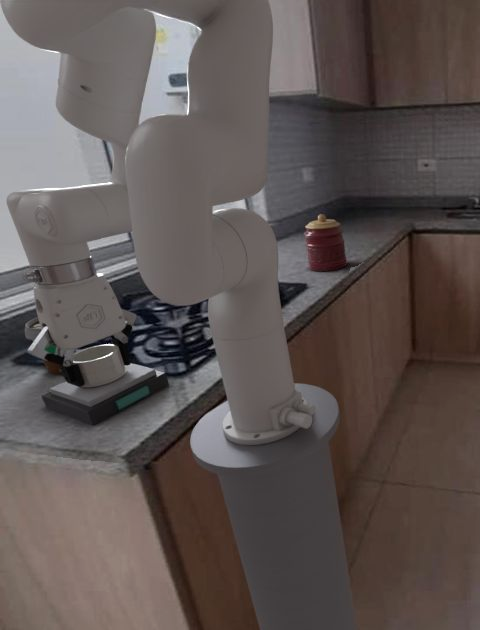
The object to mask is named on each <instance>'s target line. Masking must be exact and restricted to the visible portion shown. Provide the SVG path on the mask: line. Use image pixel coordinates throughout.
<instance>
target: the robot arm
mask: <svg viewBox="0 0 480 630" xmlns="http://www.w3.org/2000/svg"><path fill="white" fill-rule="evenodd" d="M0 7H1V10H2V11H1V12H2V13H3V15H4V17H5V19H6V22H7V24H8V26H9V27H10V28H11V29H12V31H13V32H14V33H15V35H17V36H18V37H19V39H21V40H22V41H24V42H25V43H26V44H27V45H30V46H32V47H34V48H37V49H38V50H42V51H46V52H53V53H58V54H60V57H59V58H60V59H59V69H58V70H59V71H58V79H57V88H56V94H55V107H56V111H57V112H58V113H59V115H60V116H61V117H62V119H64V121H65V122H66V123H68V124H70V125H71V126H72V127H75V128H76V129H78V130H79V131H82V132H84V133H86V134H88V135H90V136H92V137H94V138H97V139H99V140H102V141H104V142H107V143H108V144H109V146H110V147H111V151H112V158H113V160H112V168H111V169H112V170H111V173H110V174H111V175H110V179H109V181H108V182H106V183H105V182H103V183H96V184H87V185H85V184H84V185H77V186H72V187H70V186H69V187H63V188H62V187H61V188H59V187H46V188H45V187H44V188H43V187H42V188H33V189H32V188H31V189H22V190H16V191H13V192H10V193H9V194H8V195H7V197H6V200H5V201H6V206H7V209H8V212H9V214H10V217H11V219H12V221H13V225H14V227H15V230H16V232H17V235H18V237H19V240H20V243H21V245H22V248H23V250H24V253H25V256H26V258H27V261H28V263H29V266H28V268H29V271H28V272H26V273H22V275H21V277H22V280H23V281H24V283H26V284H28V283H34V284H36V286H34V287H33V298H34V305H35V311H36V314H37V317H38V319H39V322H40V326H41V329H42V330H41V332H40V333H39V335H38V336H37V337H36V339H35V340H34V342H33V341H32V343H31V344H30V346H28V348H27V351H26V353H27V354H28V355H30V356H32V357H36V358H38V359H41V360H42V359H43V360H46V361H49V362H53V363H56V364H59V365H60V368H61V370H62V373H63V375H62V376H63V378H64V380H65V382H67V383H69V384H72V385H75V386H78V387H82V386H84V384H85V383H84V380H83V377H82V375H81V372H80V369H79V366H78V364H76V363H73V357H74V351H75V350H78V349H79V348H82V347H84V346H87V345H88V346H89V345H90V344H93V343H95V342H98V341H101V340H104V339H105V338H109V339H111V342H110V344H113V345H117V346H118V347H119V350H120V353H121V356H122V359H123V362H124V365H125V366H128V365H130V364H131V363H132V362H131V360H130V358H131V355H130V351H129V347H128V345H127V343H128V342H129V336H130V335H131V332H132V330H133V326H134V324H135V322H136V320H137V318H138V317H137V316H138V315H137V313H134V312H132V311H129V310H126V309H123V308H122V307H121V305H120V303H119V300H118V298H117V295H116V294H115V292H114V290H113V288H112V286H111V284H110V283H109V280H108V279H107V278H106V276H105V274H104V273H102V272H101V273H100V272H97V269H96V265H95V263H94V260H93V257H92V253H91V251H90V248H89V244H88V243H89V242H94V241H98V240H101V239H105V238H110V237H114V236H118V235H124V234H127V233H132V242H133V249H134V255H135V261H136V265H137V269H138V273H139V274H140V276H141V279H142V281H143V283H144V285H145V286H146V287H147V289H148V290H149V291H150V292H151V294H152V295H154V296H155V297H156V298H157V299H158V300H160V301H162V302H164V303H165V304H168V305H171V306H176V307H177V306H178V307H186V306H187V307H188V306H192V305H196V304H200V303H201V302H204V301H207V300H208V301H207V319H208V323H209V330H210V334H211V338H212V343H213V347H214V352H215V354H216V359H217V362H218V363H217V364H218V367H219V371H220V376H221V379H222V383H223V387H224V392H225V396H226V400H228V404H229V408H230V411H229V412H228V413H227V415H226V416H225V417H224V420H223V422H222V429H223V433H224V435H225V437H226V438H227V439H229V440H230V441H232V442H234V443H237V444H242V445H260V444H266V443H270V442H274V441H277V440H280V439H282V438H285V437H286V436H288V435H290V434H292V433H294V432H295V431H296V430H298V429H299V428H300V427H302V428H309V427H310V425H311V424H312V416H311V415H313V414H314V413H315V406H312V405H309V404H308V402H307V400H306V399H305V398H303V397H302V396H301V391H297V390H295V386H294V383H295V382H294V375H293V370H292V364H291V357H290V353H289V347H288V342H287V336H286V329H285V323H284V316H283V310H282V305H281V297H280V290H279V289H280V288H279V247H278V241H277V238H276V234H275V232H274V230H273V228H272V226H271V225H270V224H269V223H268V221H267V220H266V219H265V218H264V217H262V215H260V214H258V213H257V212H255V211H252V210H250V209H246V208H241V207H227V208H221V209H216V210H214V209H213V208H214V207H216V206H221V205H225V204H230V203H235V202H240V201H243V200H247V199H249V198H252V197H254V196H256V195H257V194H259V193H261V191H262V190H263V189H264V188H265V185H266V183H267V179H268V173H269V149H270V147H269V146H270V145H269V143H270V140H269V139H270V76H271V63H272V55H273V44H274V43H273V42H274V23H273V14H272V9H271V5H270V2H269V0H0ZM155 15H157V16H159V17H163V18H166V19H171V20H174V21H178V22H181V23H184V24H187V25H191V26H194V27H195V28H196V29H198V30H199V31H200V34H199V35H198V37H197V39H196V40H195V42H194V44H193V47H192V49H191V52H190V54H189V59H188V61H187V70H186V83H187V112H186V114H180V113H178V114H177V113H165V114H158V115H154V116H151V117H148V118H147V119H145V120H143V121H142V122H141V123H140V120H141V115H142V110H143V104H144V101H145V94H146V90H147V84H148V80H149V74H150V70H151V64H152V60H153V54H154V49H155V43H156V39H157V23H156V19H155ZM47 344H49V345H50V346H56V351H55V354H52V353H50V352H47V351H46V350H45V347H46V345H47ZM43 360H42V361H43Z"/></svg>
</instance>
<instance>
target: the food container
mask: <svg viewBox="0 0 480 630" xmlns="http://www.w3.org/2000/svg"><path fill="white" fill-rule="evenodd" d="M41 330H42V329H41V326H40V322H39V319H38V316H37V317H35V318H33V319H30V320H29V321H27V322H26V323H25V327H24V336H25V339H27V340H31V341H32V343H33V342H34V340H35V339H36V337H37V336H38V335H39V333H40V332H41ZM45 350H46V351H47V352H50V353H52V354H55V351H56V346H50V345H49V344H47V345H46V347H45ZM77 352H78V351H77V349H75V351H74V354H75V353H77ZM41 360H42V362H43V364H44V366H45V368H46V369H47V372H48V373H49V374H50V375H52V376H53V375H54V376H63V373H62V370H61V368H60V365H59V364H56V363H53V362H49V361H46V360H43V359H41Z"/></svg>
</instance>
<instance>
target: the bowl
mask: <svg viewBox="0 0 480 630" xmlns="http://www.w3.org/2000/svg"><path fill="white" fill-rule="evenodd" d="M76 352H77V353H75V354H74V357H73V363H76V364H78V366H79V369H80V372H81V375H82V377H83V380H84V383H85V384H84V386H82V387H95V386H100V385H104V384H107V383H110V382H113V381H115V380H117V379H119V378H120V377H122V376H123V375H124V374H125V372H126V369H125V365H124V362H123V359H122V356H121V353H120V350H119V347H118V346H117V345H113V344H111V343H108V344H107V343H106V344H99V345H94V346H90V347H86V348H84V349H82V350H78V351H76Z"/></svg>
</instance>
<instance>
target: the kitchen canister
mask: <svg viewBox="0 0 480 630" xmlns="http://www.w3.org/2000/svg"><path fill="white" fill-rule="evenodd" d="M340 226H341V223H340V222H338V221H337V220H335V219H327V217H326V215H325V214H321V213H320V214H318V216H317V220H312V221H309V222H308V224H306V225H305V226H304V227H305V229H306V231H305V232H304V233H303V236H304V237H305V241H306V242H305V247H306V255H307V265H308V268H309V269H310V270H312V271H315V272H330V271H337V270H340V269H343V268H345V267H346V266H347V262H348V260H347V255H346V247H345V239H344V237H343V233H344V229H343V228H341V227H340Z"/></svg>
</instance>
